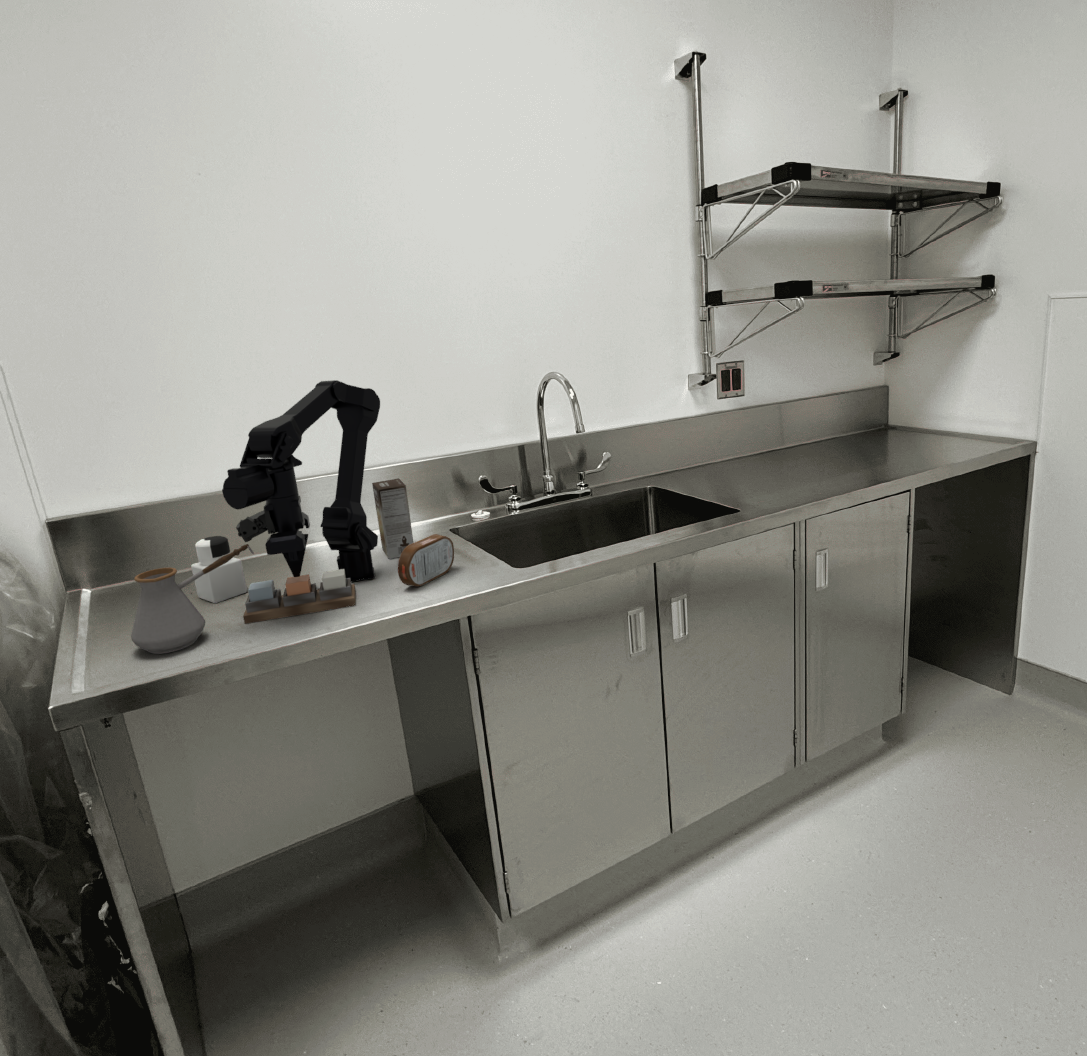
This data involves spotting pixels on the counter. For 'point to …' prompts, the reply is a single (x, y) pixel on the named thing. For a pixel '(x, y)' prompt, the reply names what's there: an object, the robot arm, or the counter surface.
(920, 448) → the counter surface
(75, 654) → the counter surface
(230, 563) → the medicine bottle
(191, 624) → the coffee pot
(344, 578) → the white button
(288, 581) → the terracotta button
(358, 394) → the robot arm
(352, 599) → the button panel
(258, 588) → the slate button
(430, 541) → the tin
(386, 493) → the coffee box
